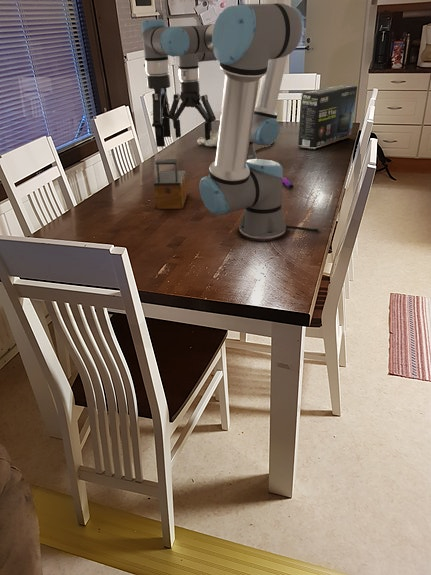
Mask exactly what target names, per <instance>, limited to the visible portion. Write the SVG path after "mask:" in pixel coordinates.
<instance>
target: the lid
mask: <svg viewBox="0 0 431 575" xmlns="http://www.w3.org/2000/svg"><path fill="white" fill-rule="evenodd" d="M154 163H155V168H156V173H157V174H156V175H157V177H156V179H155V180H154V182H153V186H154V187H155V186H177V185H181V182H182V180H183V177H184V175H185V176H186V170H178V166H177V164H178V160H177V158H156V159H155V160H154ZM159 165H160V166H161V165H162V166H163V165H174V166H173V167H174V170H160V166H159Z"/></svg>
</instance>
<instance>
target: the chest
mask: <svg viewBox="0 0 431 575" xmlns="http://www.w3.org/2000/svg"><path fill="white" fill-rule="evenodd" d="M187 192H188V191H187V177H186V174H185V175H184V177H183V180H182V182H181V185H177V186H154V194H155V203H156V209H157V210H171V209H172V210H176V209H177V210H178V209H180V210H181V209H183V208H184V205H185V203H186V200H187V197H188V193H187Z"/></svg>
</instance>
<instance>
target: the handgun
mask: <svg viewBox="0 0 431 575" xmlns="http://www.w3.org/2000/svg"><path fill="white" fill-rule="evenodd" d="M283 184H284V185H285V186H286V187H288V189H289V190H293V189H294V184H292V183H291V182H290V180H288V179H287V178H286V177H284V176H283Z"/></svg>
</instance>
